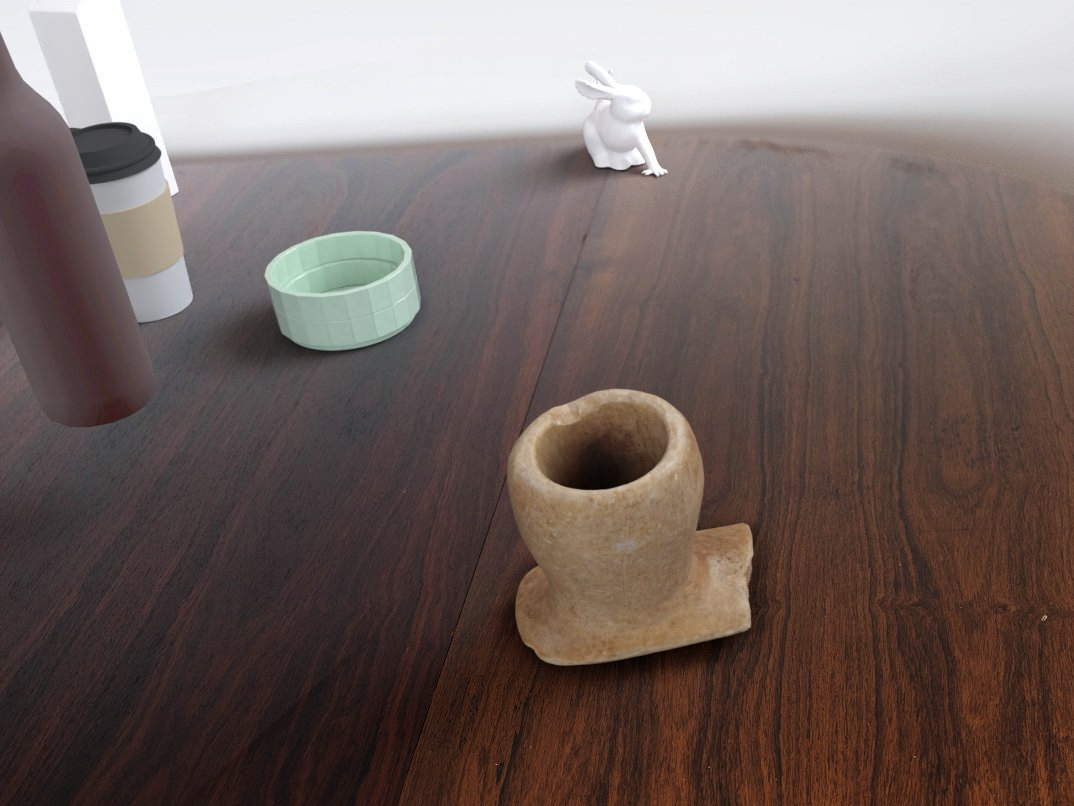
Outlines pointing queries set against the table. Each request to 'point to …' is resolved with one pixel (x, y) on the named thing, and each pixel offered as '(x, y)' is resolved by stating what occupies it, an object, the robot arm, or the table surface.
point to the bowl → (344, 290)
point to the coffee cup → (137, 216)
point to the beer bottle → (62, 271)
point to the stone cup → (621, 534)
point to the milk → (96, 67)
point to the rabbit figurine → (616, 123)
